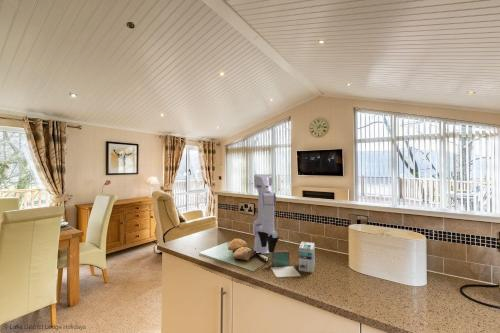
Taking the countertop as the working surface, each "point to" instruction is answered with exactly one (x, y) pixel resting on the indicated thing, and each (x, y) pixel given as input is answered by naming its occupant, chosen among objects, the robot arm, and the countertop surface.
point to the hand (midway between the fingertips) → (267, 249)
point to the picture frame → (280, 258)
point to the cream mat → (285, 271)
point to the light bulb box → (306, 256)
